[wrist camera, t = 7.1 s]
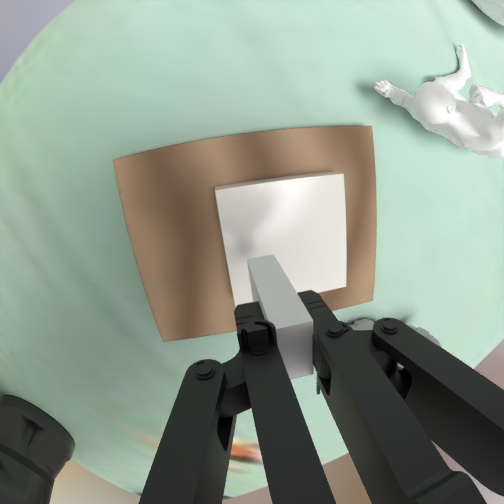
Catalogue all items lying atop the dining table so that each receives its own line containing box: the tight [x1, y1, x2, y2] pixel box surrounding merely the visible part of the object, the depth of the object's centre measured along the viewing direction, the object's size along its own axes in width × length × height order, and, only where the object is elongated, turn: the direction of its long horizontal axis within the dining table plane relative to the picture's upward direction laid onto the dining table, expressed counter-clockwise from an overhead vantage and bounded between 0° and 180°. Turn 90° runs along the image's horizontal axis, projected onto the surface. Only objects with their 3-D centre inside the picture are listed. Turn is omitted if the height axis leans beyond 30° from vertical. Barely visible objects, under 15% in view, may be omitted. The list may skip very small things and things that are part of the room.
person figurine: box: [374, 44, 504, 158], centre depth 17 cm, size 13×13×18 cm
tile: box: [215, 171, 347, 307], centre depth 21 cm, size 2×9×9 cm
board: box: [113, 126, 377, 342], centre depth 22 cm, size 20×16×1 cm
